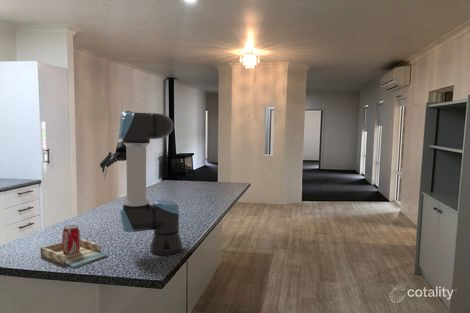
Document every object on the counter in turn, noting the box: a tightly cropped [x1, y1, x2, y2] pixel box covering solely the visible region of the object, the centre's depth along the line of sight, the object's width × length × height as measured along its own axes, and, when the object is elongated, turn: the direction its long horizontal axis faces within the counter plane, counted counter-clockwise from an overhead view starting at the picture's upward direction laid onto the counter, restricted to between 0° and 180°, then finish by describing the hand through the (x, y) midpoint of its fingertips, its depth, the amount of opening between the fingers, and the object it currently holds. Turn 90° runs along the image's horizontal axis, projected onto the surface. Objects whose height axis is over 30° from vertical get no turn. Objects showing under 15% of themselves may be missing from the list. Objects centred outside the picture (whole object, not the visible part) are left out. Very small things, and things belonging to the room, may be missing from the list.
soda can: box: [61, 224, 81, 255], centre depth 157 cm, size 7×7×12 cm
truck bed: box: [40, 238, 108, 269], centre depth 155 cm, size 24×18×4 cm
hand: (117, 177), depth 177 cm, fingers open, 13 cm apart
